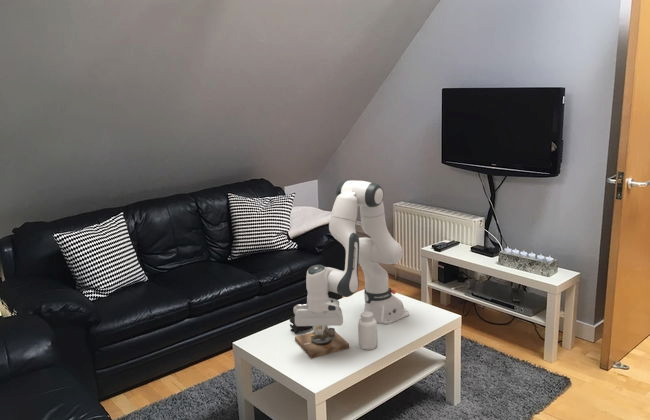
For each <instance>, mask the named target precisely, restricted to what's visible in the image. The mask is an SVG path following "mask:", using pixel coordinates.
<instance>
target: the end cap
mask: <svg viewBox="0 0 650 420" xmlns="http://www.w3.org/2000/svg"><path fill="white" fill-rule="evenodd" d="M289 322H290V323H289V327H290V331H291V332H292V333H294V334H295V335H296V334H298V333H302V332H305V331H308V330H310V329H313V326H296V325H295V316H292V317H290V318H289Z"/></svg>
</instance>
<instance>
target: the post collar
mask: <svg viewBox="0 0 650 420" xmlns="http://www.w3.org/2000/svg"><path fill="white" fill-rule="evenodd" d="M313 334H314V333H313ZM331 341H332V339H331V338H330V337H329V336H328V337H326V338H323V339H318V338H316V337H314V338H311V342H312V343H313V344H315V345H326V344H329V343H330V342H331Z"/></svg>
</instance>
